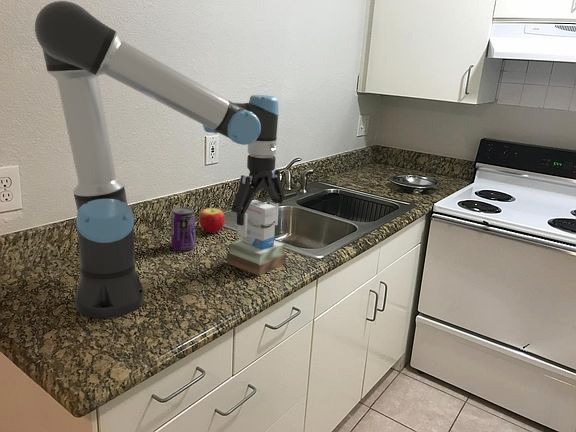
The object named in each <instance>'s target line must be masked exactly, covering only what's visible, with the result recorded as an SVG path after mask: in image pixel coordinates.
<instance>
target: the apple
mask: <svg viewBox="0 0 576 432" xmlns="http://www.w3.org/2000/svg"><path fill="white" fill-rule="evenodd" d="M225 218H226V217H225V213H224V212H223V210H222V209H220V208H216V207H215V208H214V207H213V205H212V201H211V200H210V207H208V208H203V209H202V210H201V211H200V212H199V215H198V221H199V224H200V226H201V228H202V230H203V231H205V232H206V233H210V234H214V233H217V232H219V231H221V229H223V227H224V224H225Z"/></svg>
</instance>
